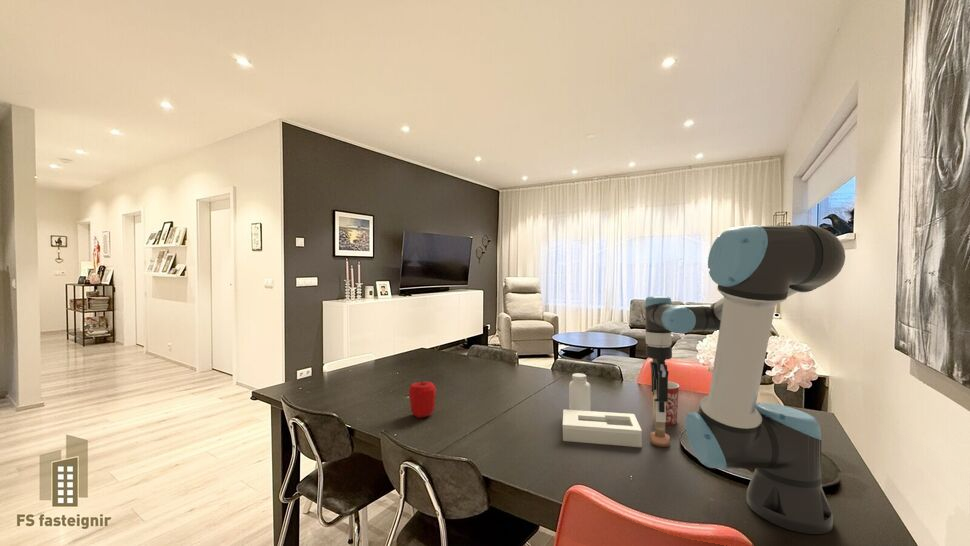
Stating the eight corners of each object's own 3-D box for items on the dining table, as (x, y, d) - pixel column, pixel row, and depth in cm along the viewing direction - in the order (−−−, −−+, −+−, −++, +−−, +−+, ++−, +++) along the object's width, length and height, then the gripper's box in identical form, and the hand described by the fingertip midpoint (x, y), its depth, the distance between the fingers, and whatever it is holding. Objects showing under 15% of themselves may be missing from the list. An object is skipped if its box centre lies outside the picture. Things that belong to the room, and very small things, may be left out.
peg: (671, 448, 116) (671, 394, 116) (652, 446, 118) (651, 393, 118) (667, 440, 122) (666, 388, 122) (648, 438, 123) (648, 387, 123)
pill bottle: (566, 415, 144) (566, 376, 144) (572, 408, 151) (571, 371, 151) (587, 419, 140) (587, 378, 140) (592, 412, 147) (592, 373, 147)
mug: (677, 428, 131) (676, 389, 131) (649, 422, 137) (649, 385, 137) (683, 417, 141) (683, 380, 141) (657, 411, 147) (657, 377, 147)
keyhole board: (641, 447, 117) (641, 430, 117) (562, 440, 123) (562, 424, 123) (634, 429, 131) (634, 414, 131) (563, 423, 136) (563, 409, 136)
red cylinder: (428, 422, 139) (428, 385, 139) (404, 419, 142) (403, 383, 142) (440, 412, 149) (440, 377, 149) (417, 409, 152) (417, 375, 152)
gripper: (678, 350, 111) (679, 430, 111) (665, 341, 127) (666, 411, 127) (651, 349, 113) (652, 428, 113) (641, 340, 129) (642, 409, 128)
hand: (659, 419), depth 120 cm, fingers closed on peg, 3 cm apart
